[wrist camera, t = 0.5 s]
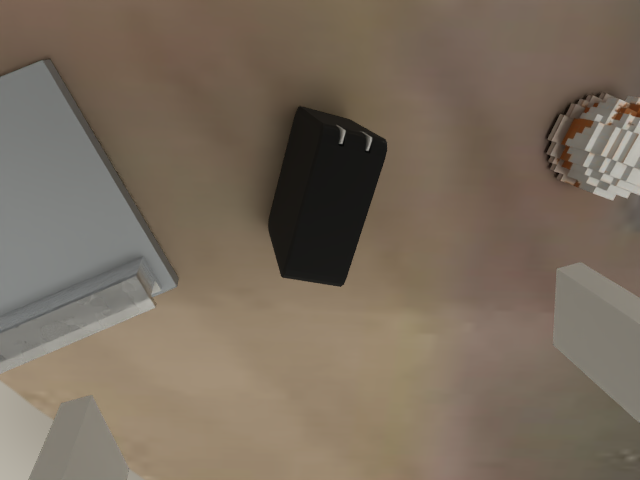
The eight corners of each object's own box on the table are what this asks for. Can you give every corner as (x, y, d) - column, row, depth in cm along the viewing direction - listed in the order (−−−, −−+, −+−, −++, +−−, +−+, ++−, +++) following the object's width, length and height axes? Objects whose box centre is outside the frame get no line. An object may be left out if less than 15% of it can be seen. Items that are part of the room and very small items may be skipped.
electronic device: (266, 226, 38) (281, 282, 29) (296, 104, 35) (324, 124, 26) (314, 235, 39) (343, 292, 30) (348, 118, 36) (391, 142, 27)
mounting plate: (-153, 140, 30) (-171, 145, 29) (50, 59, 31) (42, 59, 29) (18, 346, 38) (11, 357, 36) (178, 278, 38) (177, 286, 37)
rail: (-6, 318, 35) (-28, 345, 32) (143, 255, 35) (135, 276, 32) (19, 347, 36) (0, 376, 33) (162, 286, 37) (157, 309, 33)
